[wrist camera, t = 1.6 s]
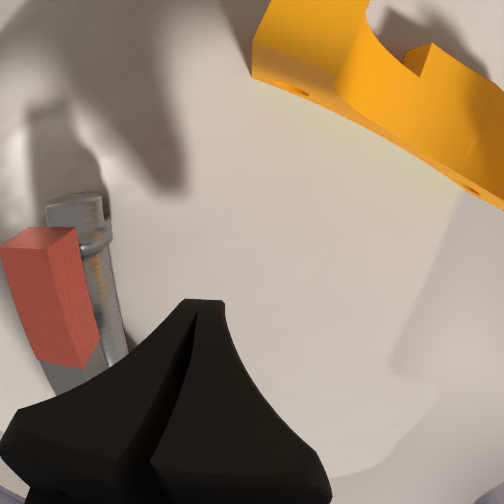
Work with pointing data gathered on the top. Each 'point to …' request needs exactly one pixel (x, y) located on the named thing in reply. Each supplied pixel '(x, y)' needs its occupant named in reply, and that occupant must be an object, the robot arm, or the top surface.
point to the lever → (54, 304)
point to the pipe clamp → (387, 89)
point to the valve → (94, 264)
